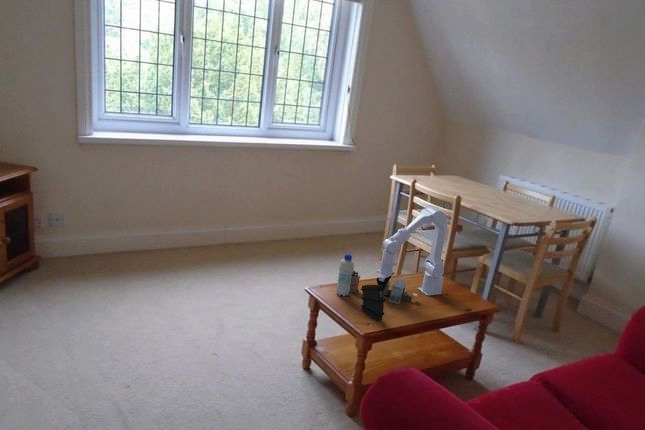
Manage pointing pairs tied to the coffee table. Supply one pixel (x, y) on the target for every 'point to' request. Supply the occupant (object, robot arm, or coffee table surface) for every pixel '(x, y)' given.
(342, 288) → the bottle
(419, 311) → the coffee table surface
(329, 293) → the coffee table surface
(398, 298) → the housing
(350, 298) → the coffee table surface
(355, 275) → the lighter
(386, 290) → the plug
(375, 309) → the black ribbed block
